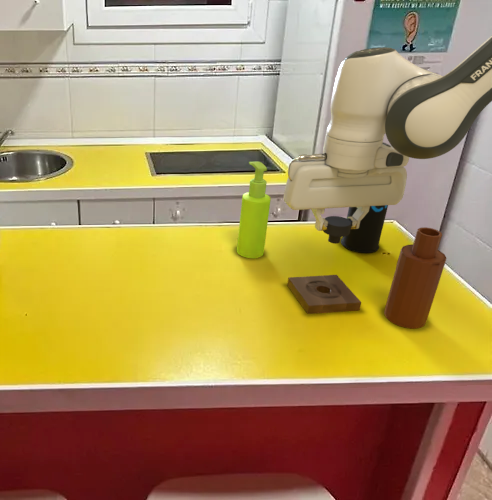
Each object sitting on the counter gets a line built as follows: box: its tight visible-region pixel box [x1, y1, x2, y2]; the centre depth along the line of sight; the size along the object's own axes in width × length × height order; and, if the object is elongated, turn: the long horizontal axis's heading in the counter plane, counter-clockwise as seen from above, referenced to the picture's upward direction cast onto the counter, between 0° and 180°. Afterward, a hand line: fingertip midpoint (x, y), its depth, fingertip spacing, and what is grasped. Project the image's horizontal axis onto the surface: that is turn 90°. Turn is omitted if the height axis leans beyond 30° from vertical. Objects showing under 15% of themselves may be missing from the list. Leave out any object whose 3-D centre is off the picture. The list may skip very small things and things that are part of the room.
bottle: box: [383, 227, 448, 329], centre depth 89 cm, size 7×7×17 cm
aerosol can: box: [340, 205, 389, 254], centre depth 114 cm, size 8×8×20 cm
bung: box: [322, 215, 352, 245], centre depth 92 cm, size 5×5×4 cm
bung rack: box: [286, 274, 362, 315], centre depth 98 cm, size 10×10×2 cm
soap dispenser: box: [236, 160, 272, 259], centre depth 111 cm, size 6×7×20 cm
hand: (336, 228), depth 92 cm, fingers closed on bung, 4 cm apart
